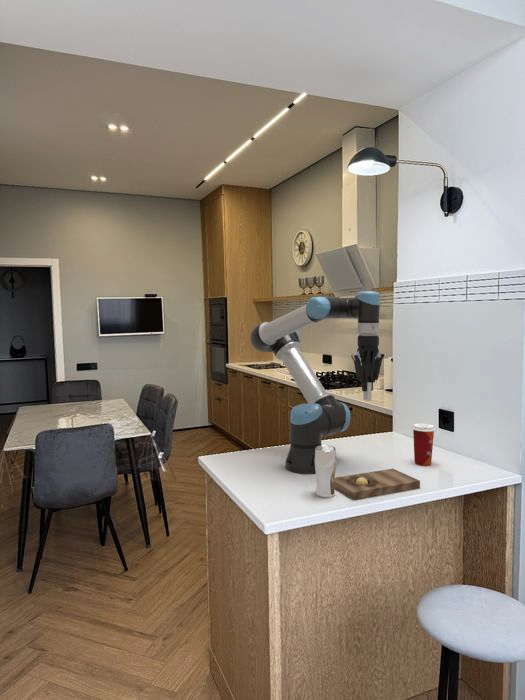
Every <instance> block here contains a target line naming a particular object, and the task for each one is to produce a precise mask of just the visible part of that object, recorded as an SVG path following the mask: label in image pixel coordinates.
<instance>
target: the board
mask: <svg viewBox="0 0 525 700" xmlns="http://www.w3.org/2000/svg"><path fill="white" fill-rule="evenodd" d="M360 477H363V478H365V479H366V480H367V481H368V484H367V485H360V484H356V480H357V479H358V478H360ZM420 488H421V480H419V479H418V478H415V477H412V476H410V475H408V474H406V473H404V472H402V471H399V470H397V469H395V468H388V469H381V470H375V471H374V470H373V471H370V472H369V471H368V472H362V473H356V474H351V475H344V476H339V477H337V476H336V477H334V490H336V491H337V492H339V493H341V494H343V495H345V496H346V497H347V498H350V499H351V500H353V501H357V500H362V499H363V500H364V499H368V498H374V497H380V496H386V495H390V494H396V493H401V492H406V491H412V490H418V489H420Z"/></svg>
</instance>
